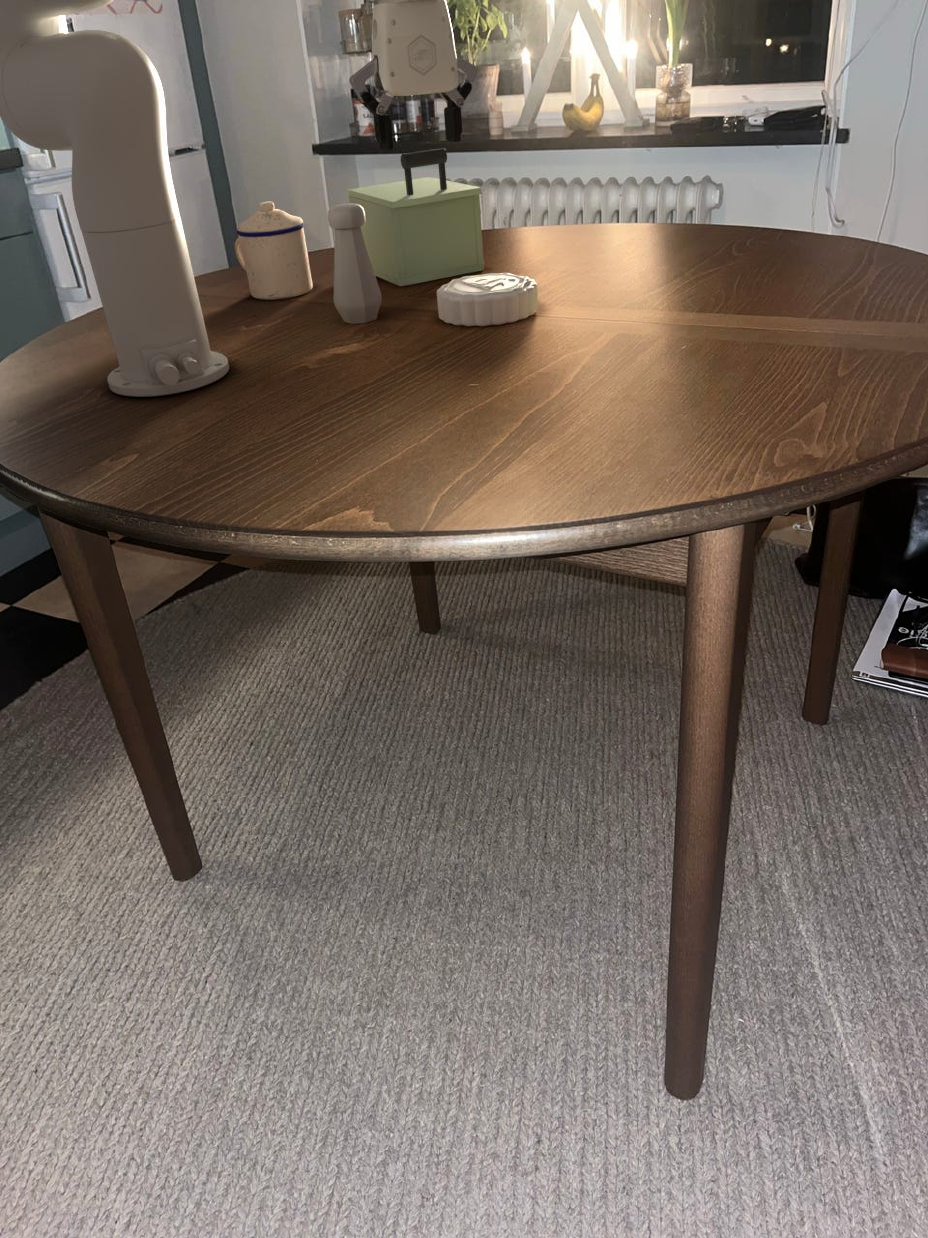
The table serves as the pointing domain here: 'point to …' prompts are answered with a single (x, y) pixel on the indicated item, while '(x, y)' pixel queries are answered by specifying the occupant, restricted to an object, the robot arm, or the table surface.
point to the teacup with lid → (274, 254)
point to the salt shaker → (353, 266)
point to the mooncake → (487, 299)
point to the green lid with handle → (416, 184)
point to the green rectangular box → (423, 239)
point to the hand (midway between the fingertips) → (420, 145)
